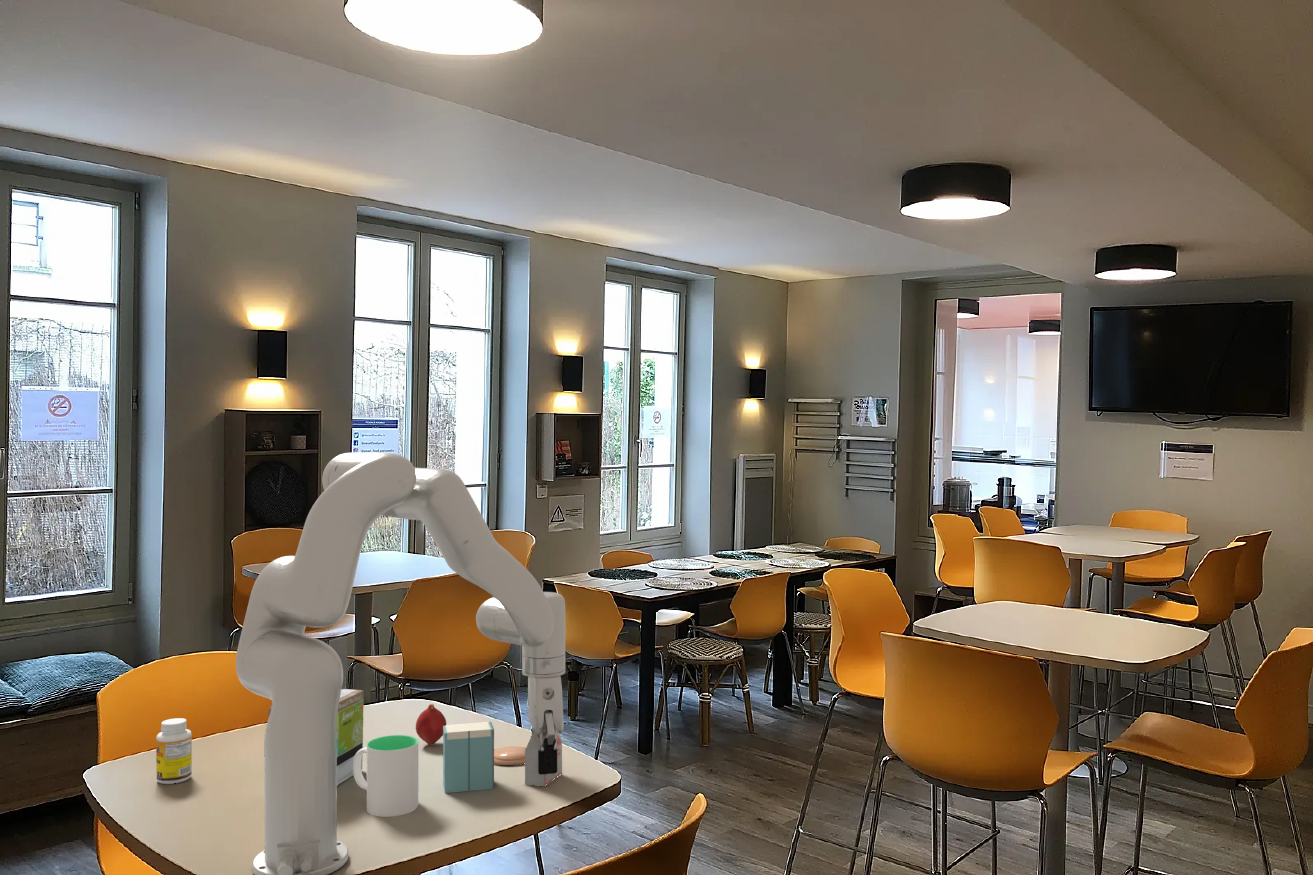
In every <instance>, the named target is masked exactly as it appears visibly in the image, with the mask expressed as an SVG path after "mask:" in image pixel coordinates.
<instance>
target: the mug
mask: <svg viewBox="0 0 1313 875" xmlns="http://www.w3.org/2000/svg"><path fill="white" fill-rule="evenodd" d="M363 754H366V779H365V778H364V776H363V772H362V770H361V758H362V755H363ZM353 777H354V778H353V779H354V780H355V781H354V782H356V784H357V785H358V787H360V788H361V789H362V790H364V791H366V811H367V813H368V814H370V815H372V816H376V817H384V818H385V817H386V818H387V817H389V818H390V817H397V816H403V815H406V814H409V813H412V812H414V811H415V810H417V809H418V807H419V738H417V737H416V736H412V735H407V734H405V735H404V734H402V735H401V734H394V735H393V734H392V735H384V736H379V737H377V738H372V739H371V740H368V742H367V743H366V746H365V747H364V746H363V748H362V749H360V750H359V751H358V752H357V753H356V754H355V756H354V760H353Z"/></svg>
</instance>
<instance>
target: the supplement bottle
mask: <svg viewBox="0 0 1313 875" xmlns="http://www.w3.org/2000/svg"><path fill="white" fill-rule="evenodd" d="M187 726H188V725H187V719H186V718H184V717H183V718H182V717H181V718H180V717H179V718H169V719H166V720H163V721H162V722H161V726H160V727H161V728H160V731H161V732H158V734H157V735H156V737H155V740H156V741H155V747H156V749H155V750H156V751H155V752H156V756H155V757H156V758H155V759H156V762H155V763H156V764H155V765H156V766H155V767H156V781H157V782H158V783H159V784H161V785H162V784H163V785H174V783H176V784H180V783H183V782H186V781H188V780H189V779H191V777H192V774H193V771H192V770H193V768H192V767H193V762H192V760H193V755H192V754H193V753H192V749H193V747H192V746H193V744H192V743H193V740H192V739H193V738H192V736H193V735H192V731H191V730H190V729H187Z"/></svg>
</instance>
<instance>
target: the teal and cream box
mask: <svg viewBox="0 0 1313 875" xmlns="http://www.w3.org/2000/svg"><path fill="white" fill-rule="evenodd" d="M442 737H443V738H442V752H443V753H442V756H443V758H442V762H443V763H442V768H443V770H442V776H443V778H442V779H443V780H442V786H443V790H444V794H448V793H449V794H450V793H461V792H470V791H471V792H472V791H483V790H492V789H495V765H494V750H495V728H494V725H493V722H492V721H489V722H488V721H482V722H470V723H469V722H467V723H458V724H457V723H455V724H446V726H443V736H442Z"/></svg>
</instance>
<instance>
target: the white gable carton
mask: <svg viewBox="0 0 1313 875" xmlns="http://www.w3.org/2000/svg"><path fill="white" fill-rule="evenodd" d="M542 732H546V729H544V730H542ZM555 732H556V743H557V773H553V774H542V775H540V774H539V773H538V750H540V744H539V735H537V734H536V733H535V732H534V730H533V733H532V732H531V736H530V739H529V741H528V743H527V746H526V749H525V764H524V785H525V784H528V785H527V786H532V785H535V786H534V787H539V786H545V785H546V784H548V783H549V784H551V783H552V782H553V781H552V780H553V779H554V778H556V779H558V778H557V776H559V775H560V774H562V775H563V740H562V738H561V735H560V733H559V732H557V730H556V729H555ZM545 738H546V737H543V743H544V739H545ZM559 777H560V776H559ZM551 781H552V782H551ZM550 782H551V783H550ZM549 784H548V785H549ZM536 785H538V786H536ZM545 787H546V786H545Z"/></svg>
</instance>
